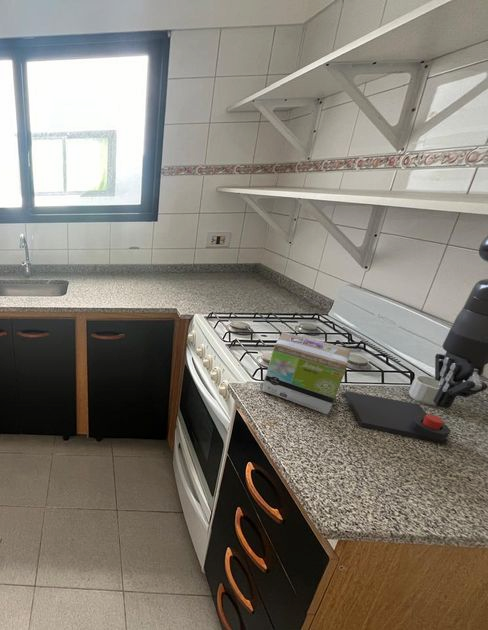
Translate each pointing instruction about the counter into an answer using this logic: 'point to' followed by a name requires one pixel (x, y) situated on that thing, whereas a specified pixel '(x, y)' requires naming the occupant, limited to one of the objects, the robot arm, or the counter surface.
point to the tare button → (433, 422)
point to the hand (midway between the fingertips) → (440, 405)
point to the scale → (394, 417)
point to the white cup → (424, 389)
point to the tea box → (306, 371)
